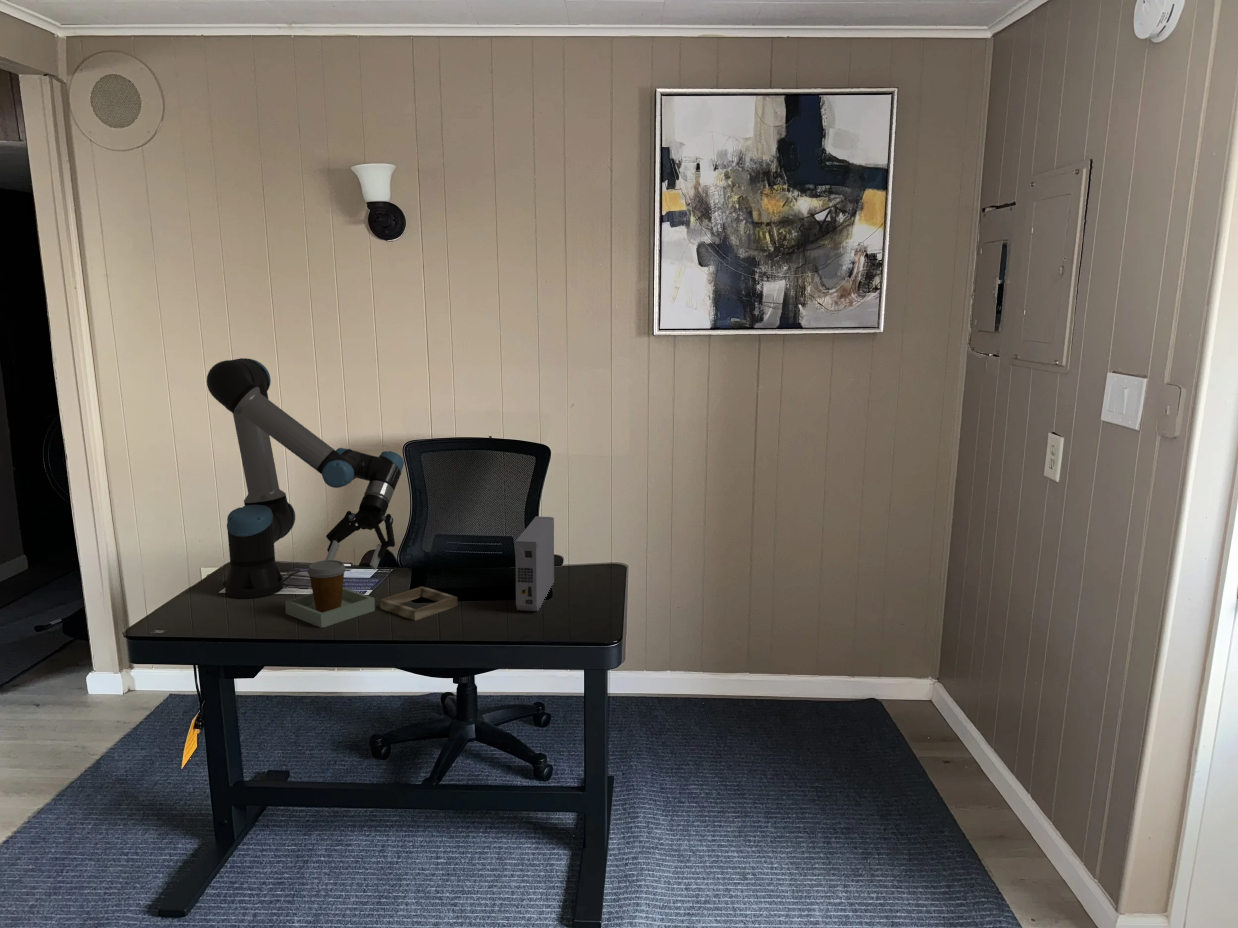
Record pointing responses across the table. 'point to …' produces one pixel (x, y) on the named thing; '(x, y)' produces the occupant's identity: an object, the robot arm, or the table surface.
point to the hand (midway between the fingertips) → (350, 565)
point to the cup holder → (442, 604)
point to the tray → (350, 608)
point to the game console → (534, 563)
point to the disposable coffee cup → (327, 584)
